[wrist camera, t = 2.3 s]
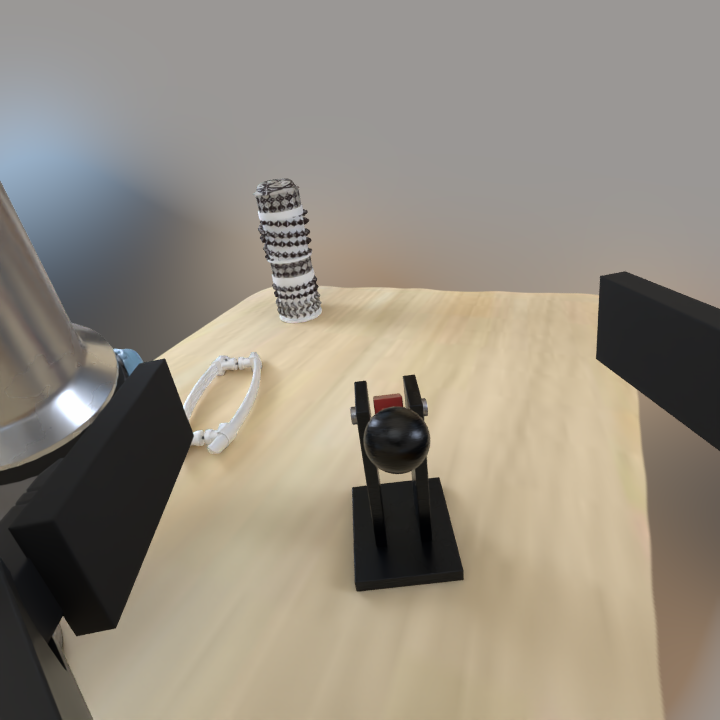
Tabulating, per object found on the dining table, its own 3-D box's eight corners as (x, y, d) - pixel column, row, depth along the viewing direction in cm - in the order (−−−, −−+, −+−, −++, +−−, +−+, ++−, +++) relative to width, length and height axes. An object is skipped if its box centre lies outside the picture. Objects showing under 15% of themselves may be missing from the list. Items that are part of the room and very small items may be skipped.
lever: (438, 477, 24) (429, 406, 24) (367, 485, 24) (358, 415, 24) (412, 428, 39) (407, 385, 39) (369, 433, 39) (364, 390, 39)
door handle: (158, 468, 57) (214, 364, 79) (238, 460, 57) (272, 358, 79) (151, 451, 56) (209, 350, 78) (232, 443, 55) (269, 344, 77)
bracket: (463, 580, 40) (460, 429, 32) (356, 591, 40) (327, 444, 32) (439, 485, 49) (432, 352, 42) (353, 495, 49) (330, 364, 42)
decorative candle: (332, 313, 92) (310, 177, 80) (289, 328, 88) (259, 188, 76) (312, 300, 99) (288, 174, 87) (271, 314, 95) (240, 184, 83)
